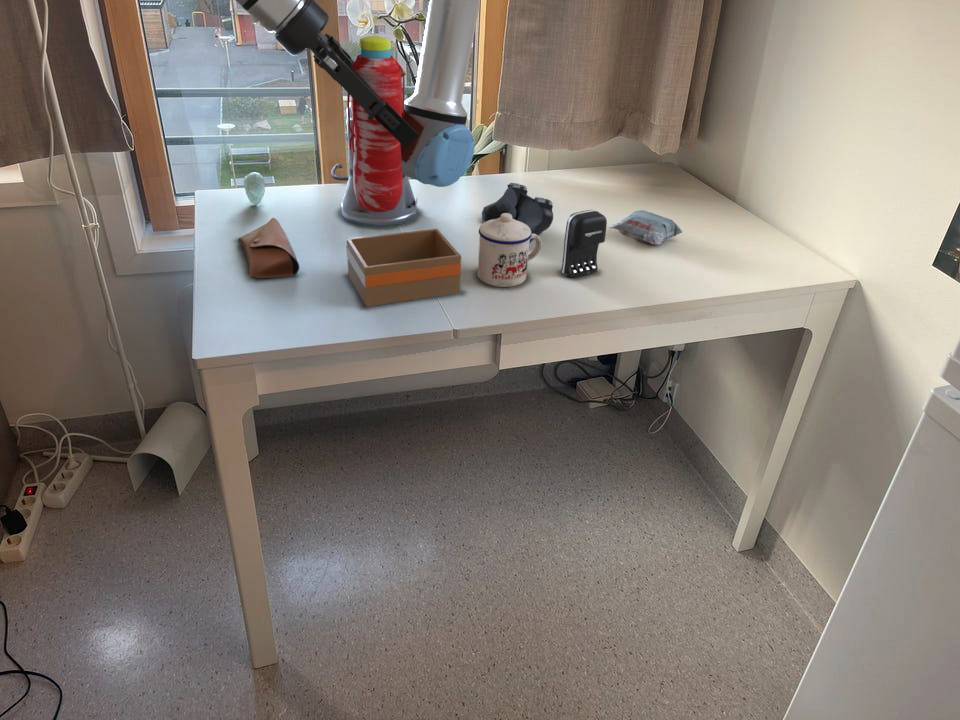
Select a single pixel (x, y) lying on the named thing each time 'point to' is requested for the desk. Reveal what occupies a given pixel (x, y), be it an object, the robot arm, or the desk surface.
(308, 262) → the desk surface
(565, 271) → the battery charger
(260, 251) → the sunglasses case
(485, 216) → the binoculars
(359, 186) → the water bottle
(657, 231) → the packaged food
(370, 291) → the wooden box
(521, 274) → the teacup with lid
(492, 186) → the desk surface
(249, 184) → the pale green rounded lump
